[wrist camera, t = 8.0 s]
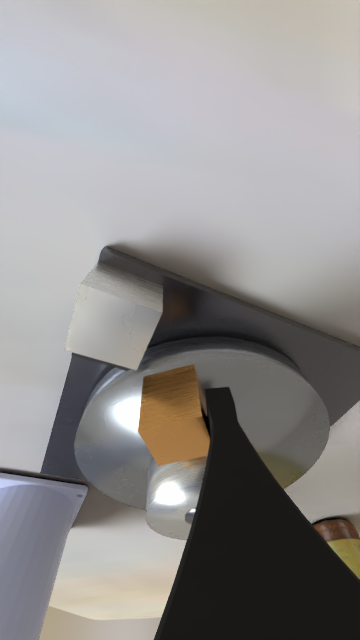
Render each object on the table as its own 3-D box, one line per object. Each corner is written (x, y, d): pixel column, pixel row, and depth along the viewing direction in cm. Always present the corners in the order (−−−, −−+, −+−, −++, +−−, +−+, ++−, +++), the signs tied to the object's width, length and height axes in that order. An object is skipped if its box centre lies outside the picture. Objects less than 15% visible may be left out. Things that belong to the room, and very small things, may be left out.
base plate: (241, 495, 23) (252, 540, 20) (44, 462, 19) (22, 514, 16) (386, 358, 15) (438, 400, 12) (105, 246, 11) (83, 270, 8)
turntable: (313, 465, 19) (351, 539, 15) (134, 501, 21) (127, 578, 17) (313, 303, 12) (389, 365, 8) (34, 377, 13) (-23, 463, 9)
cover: (256, 469, 16) (274, 527, 13) (169, 489, 16) (170, 549, 14) (237, 411, 13) (256, 472, 10) (132, 439, 13) (124, 503, 11)
